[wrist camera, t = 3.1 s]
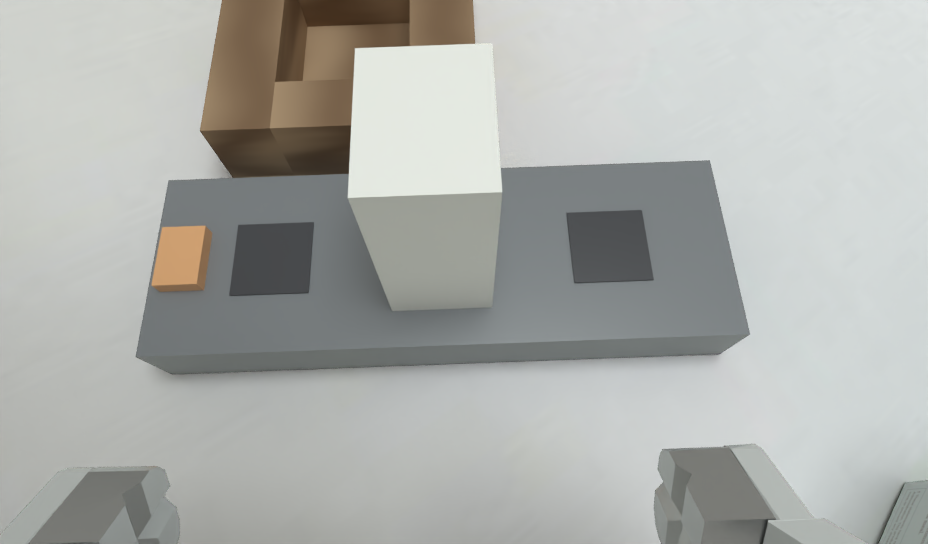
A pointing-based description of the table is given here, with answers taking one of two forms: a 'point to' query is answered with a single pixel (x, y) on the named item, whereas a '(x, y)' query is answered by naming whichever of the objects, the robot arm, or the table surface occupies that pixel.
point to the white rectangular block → (427, 172)
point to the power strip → (443, 330)
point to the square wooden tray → (305, 76)
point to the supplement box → (909, 516)
